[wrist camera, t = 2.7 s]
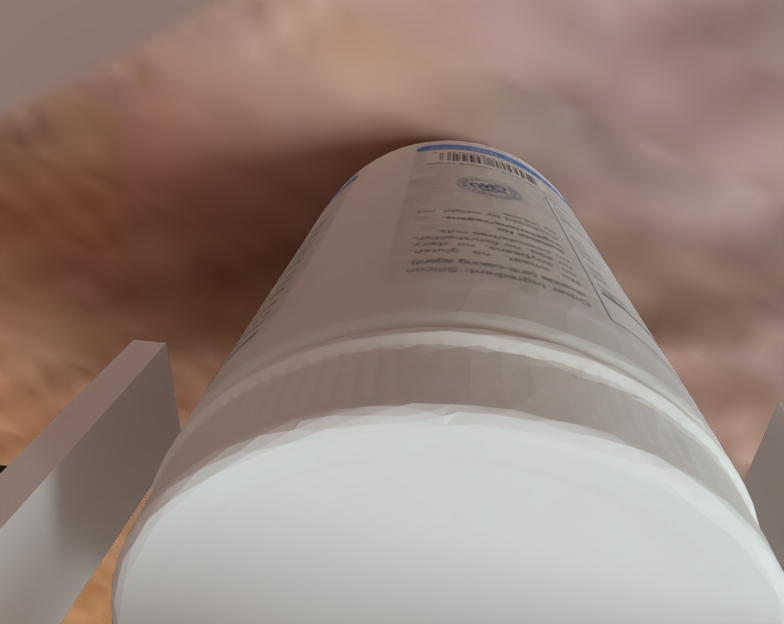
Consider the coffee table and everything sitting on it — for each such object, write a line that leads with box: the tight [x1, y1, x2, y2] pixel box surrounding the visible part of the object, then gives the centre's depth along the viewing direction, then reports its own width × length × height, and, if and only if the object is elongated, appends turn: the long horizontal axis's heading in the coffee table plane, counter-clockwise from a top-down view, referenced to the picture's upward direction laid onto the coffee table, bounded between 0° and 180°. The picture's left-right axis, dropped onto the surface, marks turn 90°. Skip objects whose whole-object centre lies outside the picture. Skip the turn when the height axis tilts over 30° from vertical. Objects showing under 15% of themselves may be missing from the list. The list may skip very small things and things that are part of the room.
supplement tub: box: [111, 140, 784, 624], centre depth 14 cm, size 10×10×15 cm
